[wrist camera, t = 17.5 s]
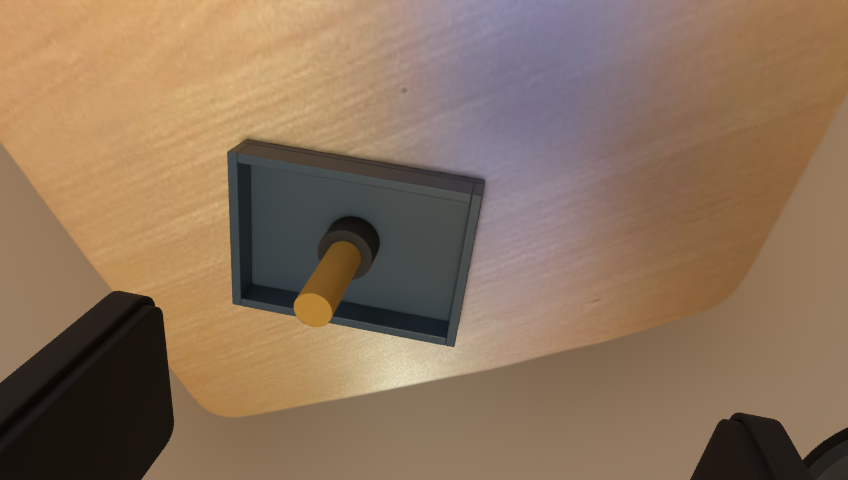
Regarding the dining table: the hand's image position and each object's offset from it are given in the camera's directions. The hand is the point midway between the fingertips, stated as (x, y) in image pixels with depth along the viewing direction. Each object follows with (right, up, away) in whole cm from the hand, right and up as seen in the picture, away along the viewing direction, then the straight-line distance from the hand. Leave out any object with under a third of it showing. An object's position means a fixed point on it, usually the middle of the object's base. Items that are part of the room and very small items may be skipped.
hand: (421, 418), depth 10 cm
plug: (-5, +3, +33) cm, 33 cm away
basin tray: (-5, +3, +33) cm, 34 cm away
